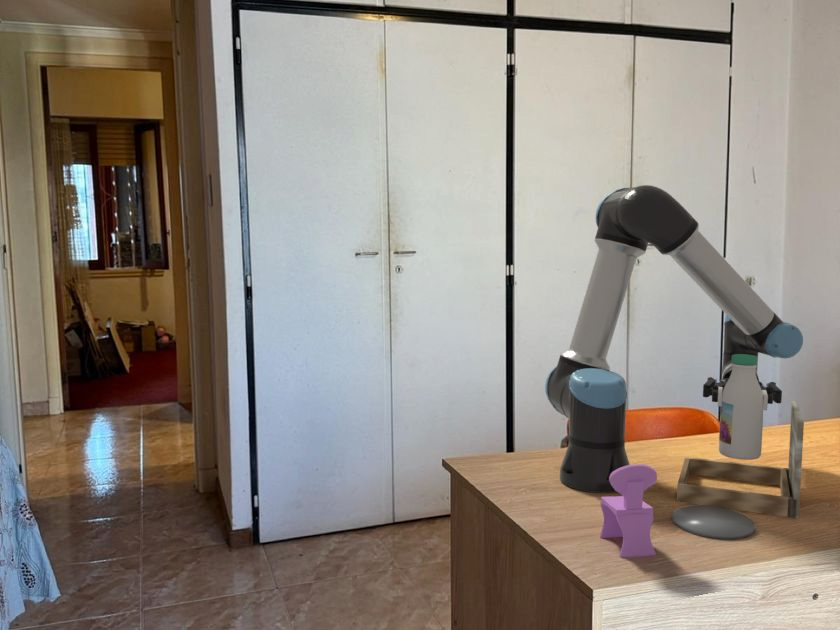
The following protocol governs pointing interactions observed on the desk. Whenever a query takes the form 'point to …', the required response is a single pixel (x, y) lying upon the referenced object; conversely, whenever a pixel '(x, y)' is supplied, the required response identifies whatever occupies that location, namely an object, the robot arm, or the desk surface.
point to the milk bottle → (741, 411)
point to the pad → (713, 522)
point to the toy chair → (630, 510)
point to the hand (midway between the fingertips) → (742, 401)
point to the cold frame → (749, 472)
